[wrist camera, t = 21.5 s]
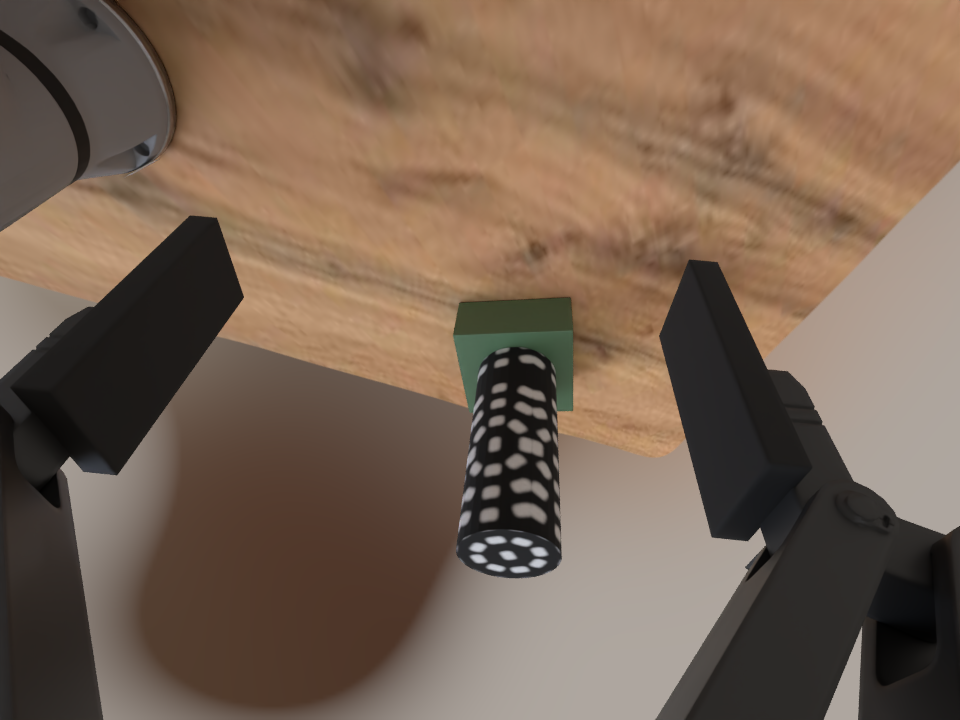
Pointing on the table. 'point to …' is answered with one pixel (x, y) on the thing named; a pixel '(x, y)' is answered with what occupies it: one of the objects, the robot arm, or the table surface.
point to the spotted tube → (512, 469)
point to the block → (516, 338)
